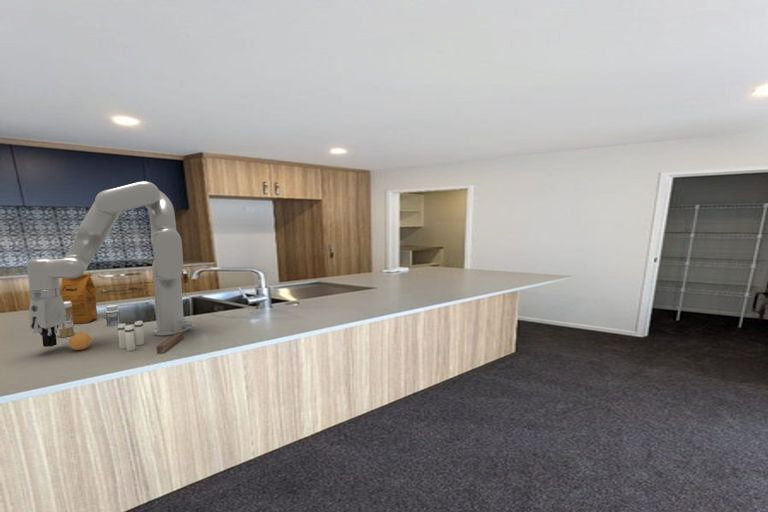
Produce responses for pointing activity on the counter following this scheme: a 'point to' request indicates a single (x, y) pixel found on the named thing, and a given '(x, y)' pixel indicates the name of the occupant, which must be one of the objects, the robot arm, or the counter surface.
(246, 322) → the counter surface
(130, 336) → the pin
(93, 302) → the coffee package
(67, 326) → the sprinkles bottle
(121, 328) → the front pin
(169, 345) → the brown wooden bar
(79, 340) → the ball
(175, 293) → the robot arm
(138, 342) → the pin
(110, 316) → the pill bottle
